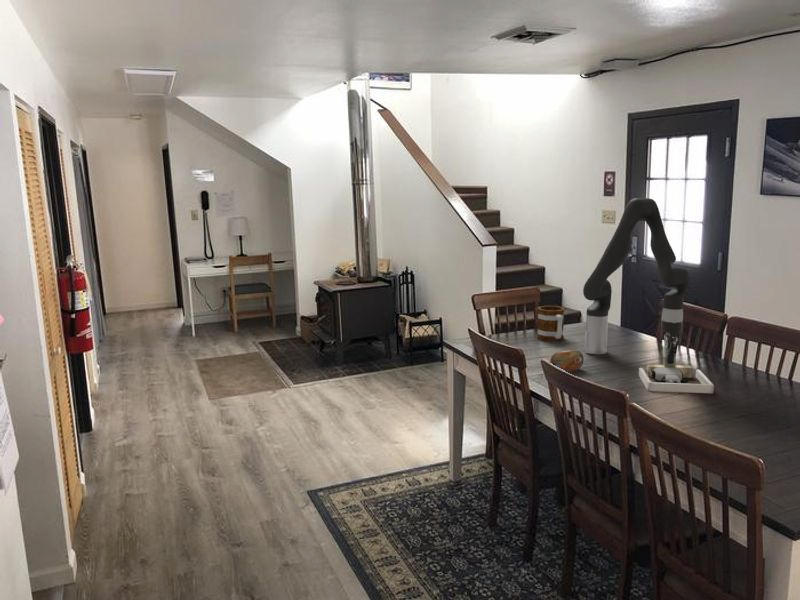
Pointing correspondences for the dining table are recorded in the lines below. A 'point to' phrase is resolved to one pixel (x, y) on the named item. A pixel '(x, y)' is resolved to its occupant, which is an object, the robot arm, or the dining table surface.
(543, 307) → the mug
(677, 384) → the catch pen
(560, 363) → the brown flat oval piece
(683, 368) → the scraper
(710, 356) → the dining table surface
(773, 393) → the dining table surface
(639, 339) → the dining table surface
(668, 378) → the robot toy
